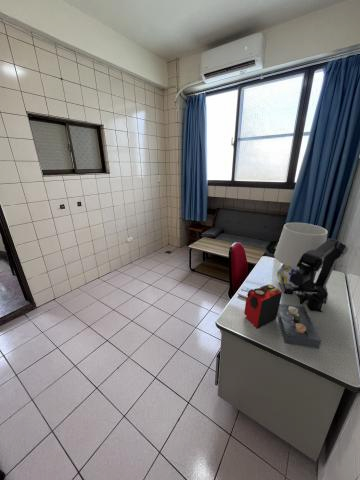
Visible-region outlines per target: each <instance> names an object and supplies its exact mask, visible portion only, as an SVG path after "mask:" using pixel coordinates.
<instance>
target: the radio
mask: <svg viewBox="0 0 360 480" xmlns="http://www.w3.org/2000/svg"><path fill="white" fill-rule="evenodd" d="M282 295H283V290H282V291H281V290H280V288H277V287H275V286H273V285H272V284H266V285H262V286H260V288H259V287H258V288H254V289H250V290H249V291H248V292H247V297H246V299H245V304H244V305H245V306H244V311H243V312H244V313H243V314H244V316H246V317H245V319H246V320H247V321H248V322H249V323H251V325H252V326H253V327H254V328H255V329H256V330H258V329H260V328H262V327H264V326H266V325H268V324H271V322H274V321H275V320H277V313H278V309H279V304H281V300H282Z"/></svg>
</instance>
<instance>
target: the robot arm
mask: <svg viewBox="0 0 360 480" xmlns="http://www.w3.org/2000/svg"><path fill="white" fill-rule="evenodd" d="M348 249H349V248H348V247H347V245H346V244H344V243H342V242H341V241H340V240H338V239H335V238H334V239H333V238H330V237H329V238H328V237H327V240H326V242H325V243H323V244H322V245H321V246H319V247H318V248H317V249H315V250H309V251H307V252H306V253H304V254H303V255H302V257H301V259H300V260H299V262H298V264H297V267H299V270H298V271H296V272H295V273H293V274H291V276H290V280H291V282H292V283H293V284H294V285H296V286H298V287H292V285H291V284H288V283H283V284H282V285H281V289H282V293H283V294H284V295H290V296H292V295H293V294H295V295H296V297H297V298H298V304H299V306H300V305H303V304H304V303H305V305H306V307H307V309H308V311H311V312H319V313H323V310H322V308H323V305H326V304H327V302H328V299H329V297H328V296H329V293H328V288H327V284H328V282H329V279H330V277H331V274H332V273H333V270H334V268H335V266H336V263H337V262H338V261H339V260H341V259H342V258H343V257H344V255H346V254H347V252H348ZM323 258H324V259H325V261H324V260H323ZM302 262H303V263H304V264H307V265H304V264H302ZM322 265H323V266H322ZM321 266H322V267H321ZM319 271H320V272H319ZM317 272H319V273H318V276H317V279H316V275H317ZM315 279H316V281H315Z"/></svg>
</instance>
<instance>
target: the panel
mask: <svg viewBox="0 0 360 480" xmlns="http://www.w3.org/2000/svg"><path fill="white" fill-rule="evenodd" d="M290 306H292V307H295V308H297V309H298V314H299V316H300V317H301V318H300V322H295V321H294V320H293V316H294V314H289V310H288V308H289V307H290ZM276 320H277V323H278V326H279V328H280V332H281V336H282V339H283V342H284V344H288V345H294V346H300V347H306V348H311V349H317V350H319V348H320V347H321V343H322V339H321V337H320V335H319V333H318V332H317V329H316V327H315V326H314V324H313V322H312V320H311V318H310V316H309V314H308V311H307V309H306V306H305V307H304V306H300V305H292V304H285V303H280V304H279V309H278V313H277V317H276ZM297 323H300V324H303V325H304V326H305V327H306V331H305V332H304V333H298V332H296V330H295V329H296V327H295V325H296V324H297Z"/></svg>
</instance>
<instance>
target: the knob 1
mask: <svg viewBox="0 0 360 480" xmlns="http://www.w3.org/2000/svg"><path fill="white" fill-rule="evenodd" d="M288 310H289V314H294V315H295V314H296V313H298V309H297V308H295V307H292V306H290V307H289V308H288Z"/></svg>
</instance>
